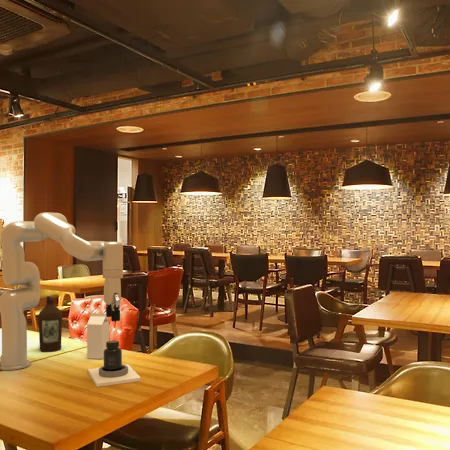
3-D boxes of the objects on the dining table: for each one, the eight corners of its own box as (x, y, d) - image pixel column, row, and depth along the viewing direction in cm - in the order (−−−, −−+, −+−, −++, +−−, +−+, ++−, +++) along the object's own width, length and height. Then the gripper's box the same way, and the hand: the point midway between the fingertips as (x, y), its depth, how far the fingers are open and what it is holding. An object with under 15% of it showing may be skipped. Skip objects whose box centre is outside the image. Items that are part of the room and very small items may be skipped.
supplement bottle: (125, 371, 190) (125, 340, 190) (114, 376, 184) (114, 344, 184) (111, 369, 193) (111, 338, 193) (99, 374, 187) (99, 342, 187)
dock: (96, 387, 176) (96, 378, 176) (87, 372, 194) (87, 364, 194) (140, 381, 182) (140, 372, 182) (128, 367, 200) (128, 359, 200)
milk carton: (102, 359, 213) (102, 315, 213) (87, 358, 214) (86, 314, 215) (109, 355, 220) (109, 312, 220) (94, 354, 221) (94, 312, 221)
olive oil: (38, 348, 234) (38, 295, 234) (62, 346, 238) (61, 294, 238) (38, 353, 224) (37, 298, 224) (62, 351, 228) (62, 297, 228)
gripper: (98, 272, 195) (98, 315, 195) (107, 276, 179) (107, 323, 179) (117, 271, 198) (117, 314, 198) (128, 275, 182) (128, 322, 182)
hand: (112, 318), depth 188 cm, fingers open, 9 cm apart
